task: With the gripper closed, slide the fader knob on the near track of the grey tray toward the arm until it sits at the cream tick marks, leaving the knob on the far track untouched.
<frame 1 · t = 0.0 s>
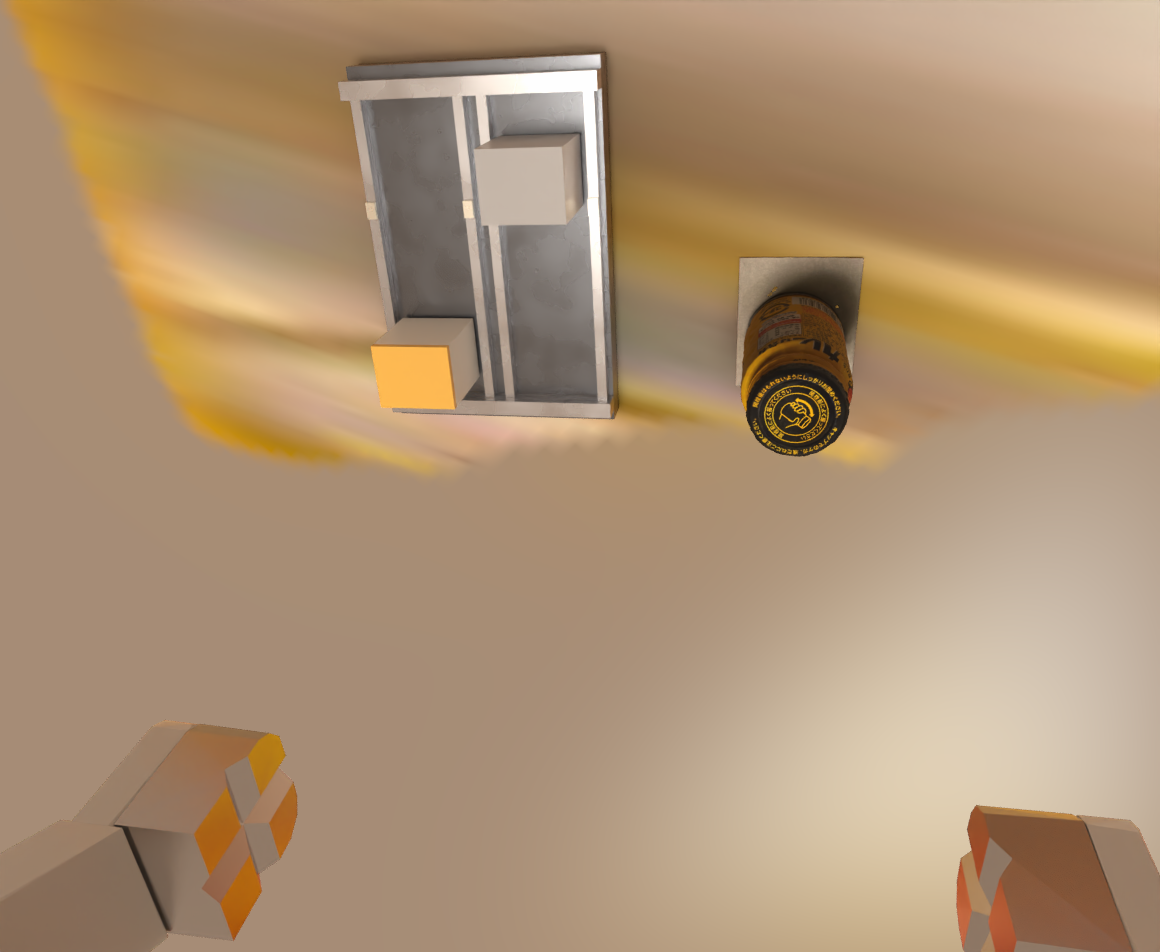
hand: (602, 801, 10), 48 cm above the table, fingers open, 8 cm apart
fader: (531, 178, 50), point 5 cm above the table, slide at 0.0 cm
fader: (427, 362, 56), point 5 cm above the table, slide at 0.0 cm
grey tray: (497, 246, 57), on the table
condiment: (796, 322, 56), on the table
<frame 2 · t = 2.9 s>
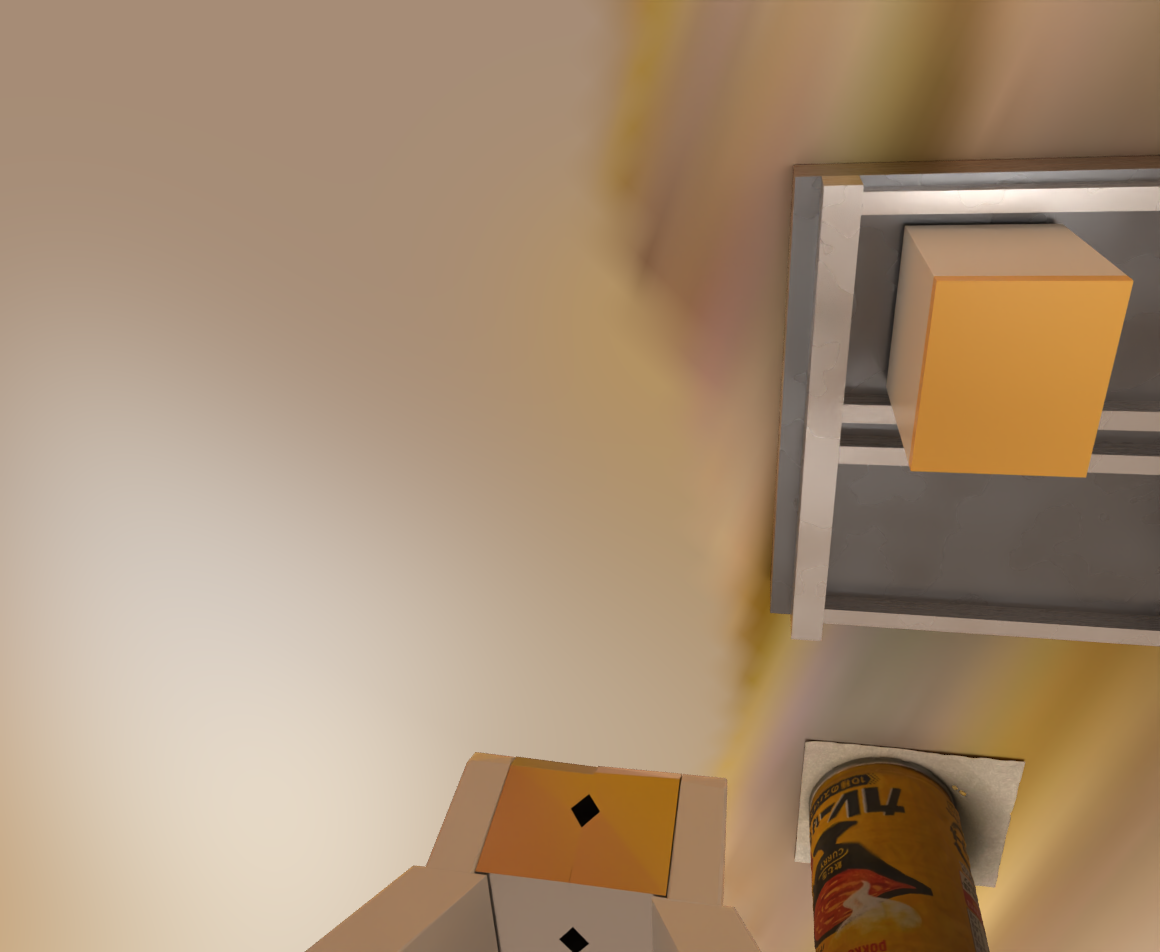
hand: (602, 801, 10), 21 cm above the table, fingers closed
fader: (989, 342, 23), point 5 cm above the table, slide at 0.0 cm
grey tray: (1139, 405, 28), on the table
condiment: (901, 807, 38), on the table
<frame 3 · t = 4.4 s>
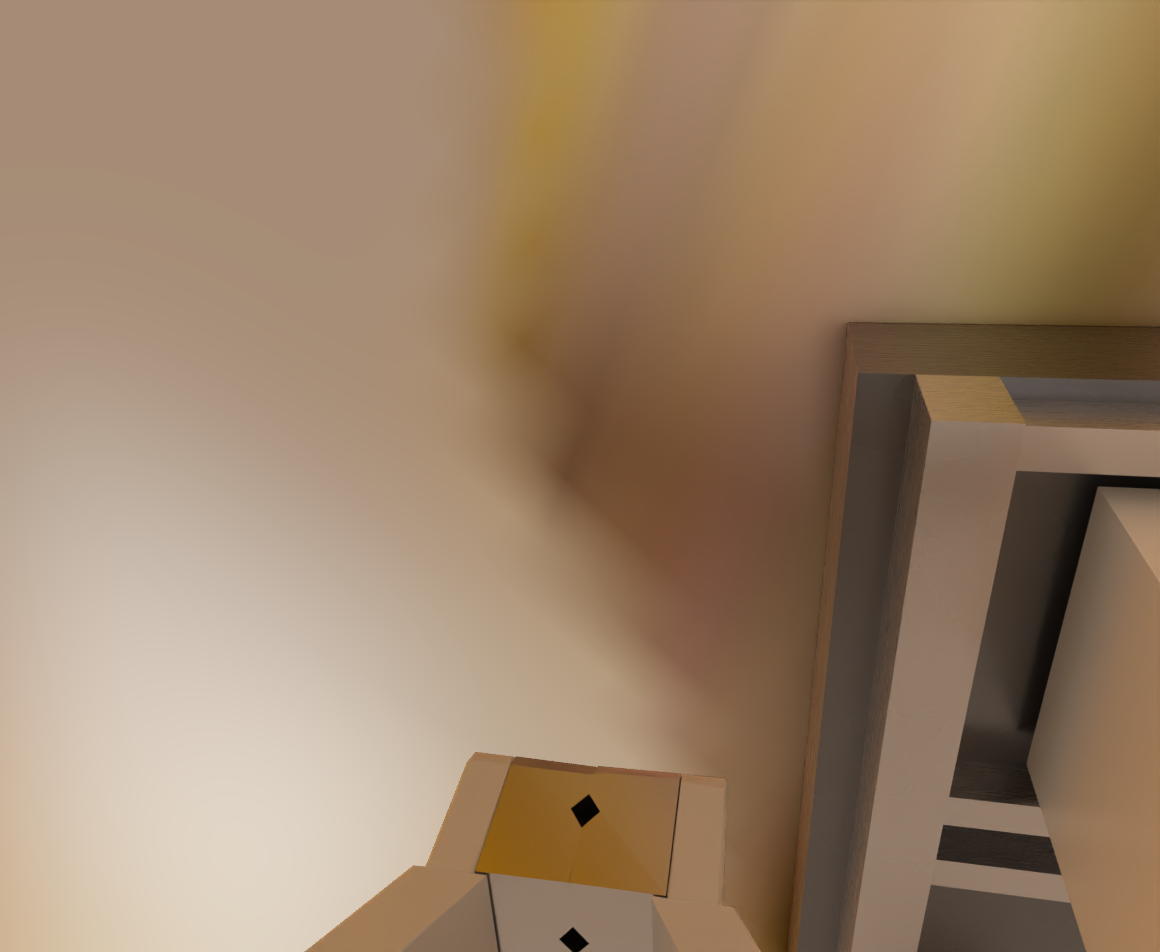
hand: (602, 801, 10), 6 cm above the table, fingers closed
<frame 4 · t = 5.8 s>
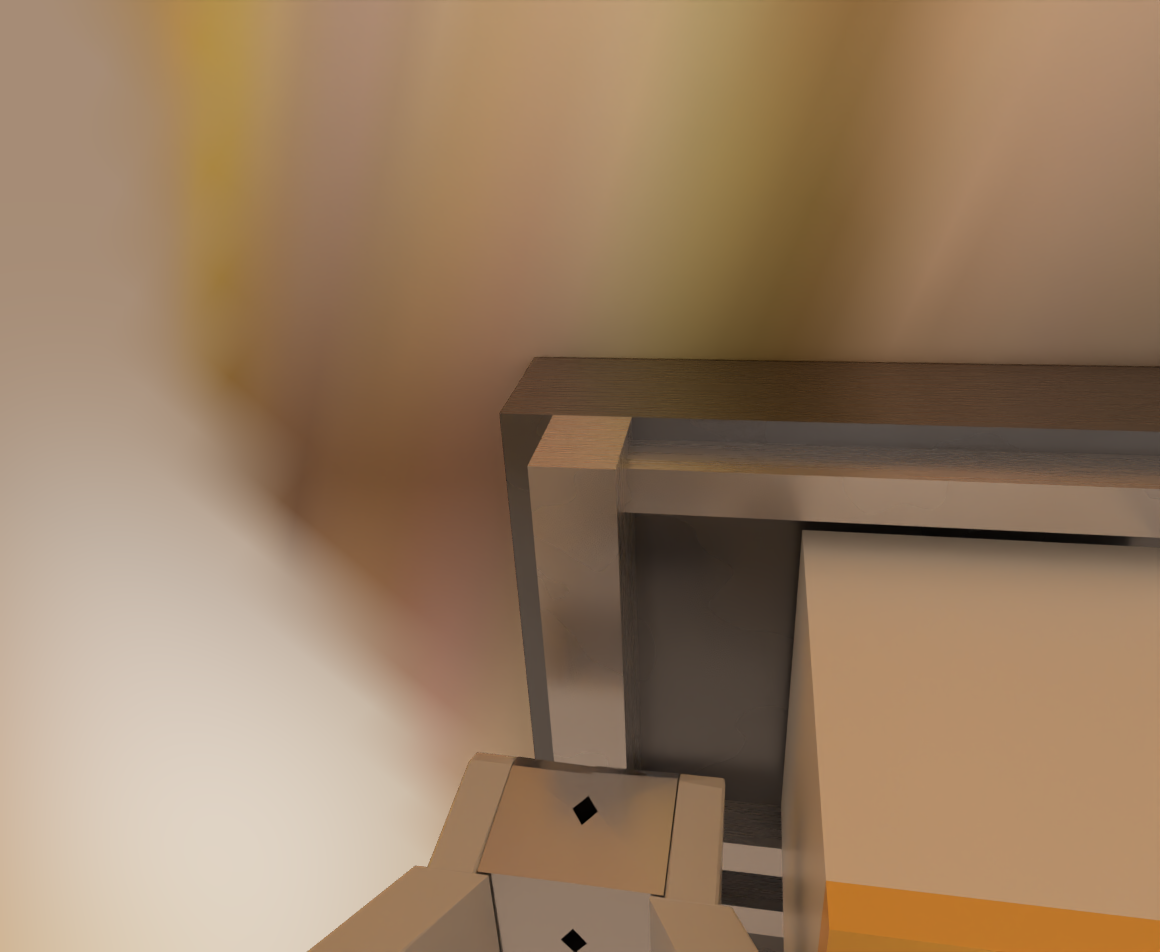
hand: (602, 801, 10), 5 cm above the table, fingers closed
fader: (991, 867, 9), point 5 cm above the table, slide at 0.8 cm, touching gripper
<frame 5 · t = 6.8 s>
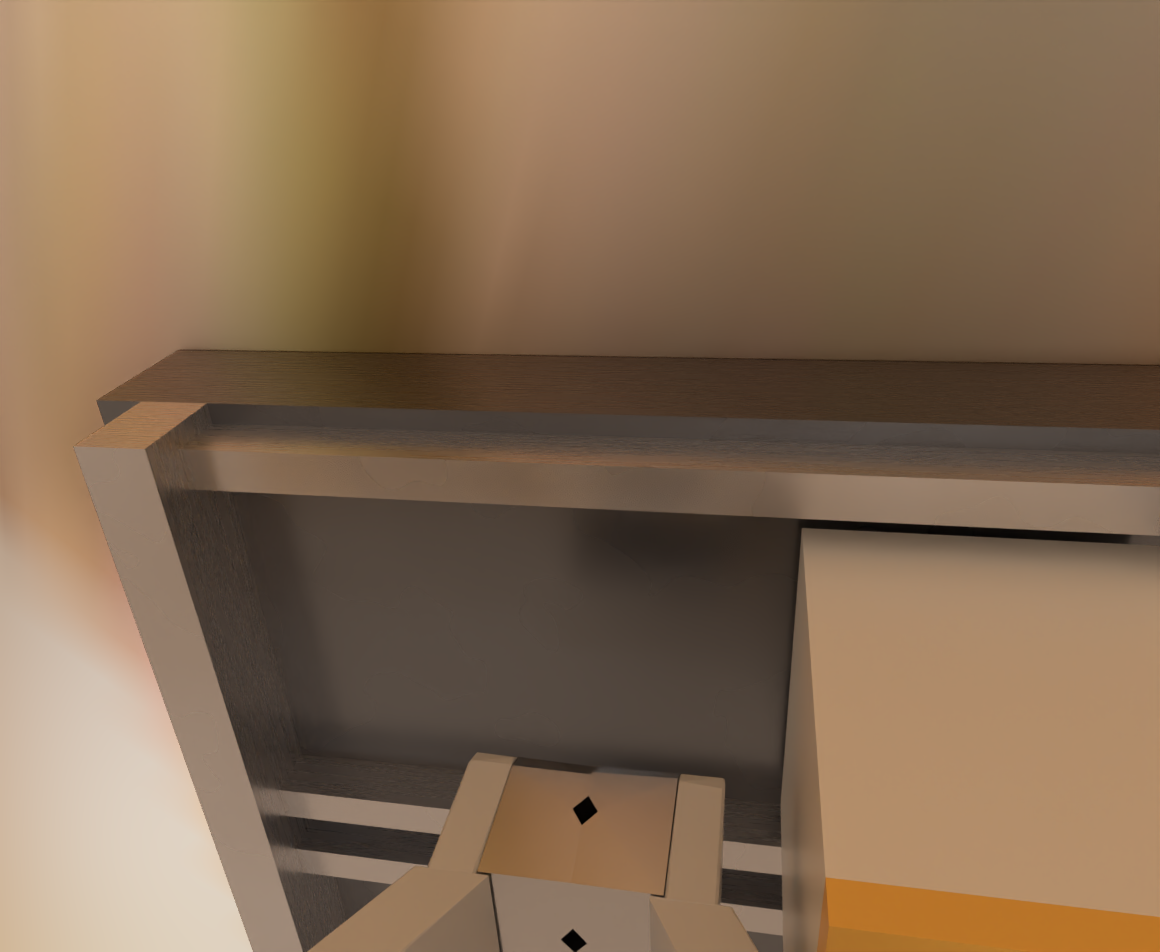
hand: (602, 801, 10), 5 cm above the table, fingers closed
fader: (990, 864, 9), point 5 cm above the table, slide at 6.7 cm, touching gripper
grey tray: (852, 762, 16), on the table
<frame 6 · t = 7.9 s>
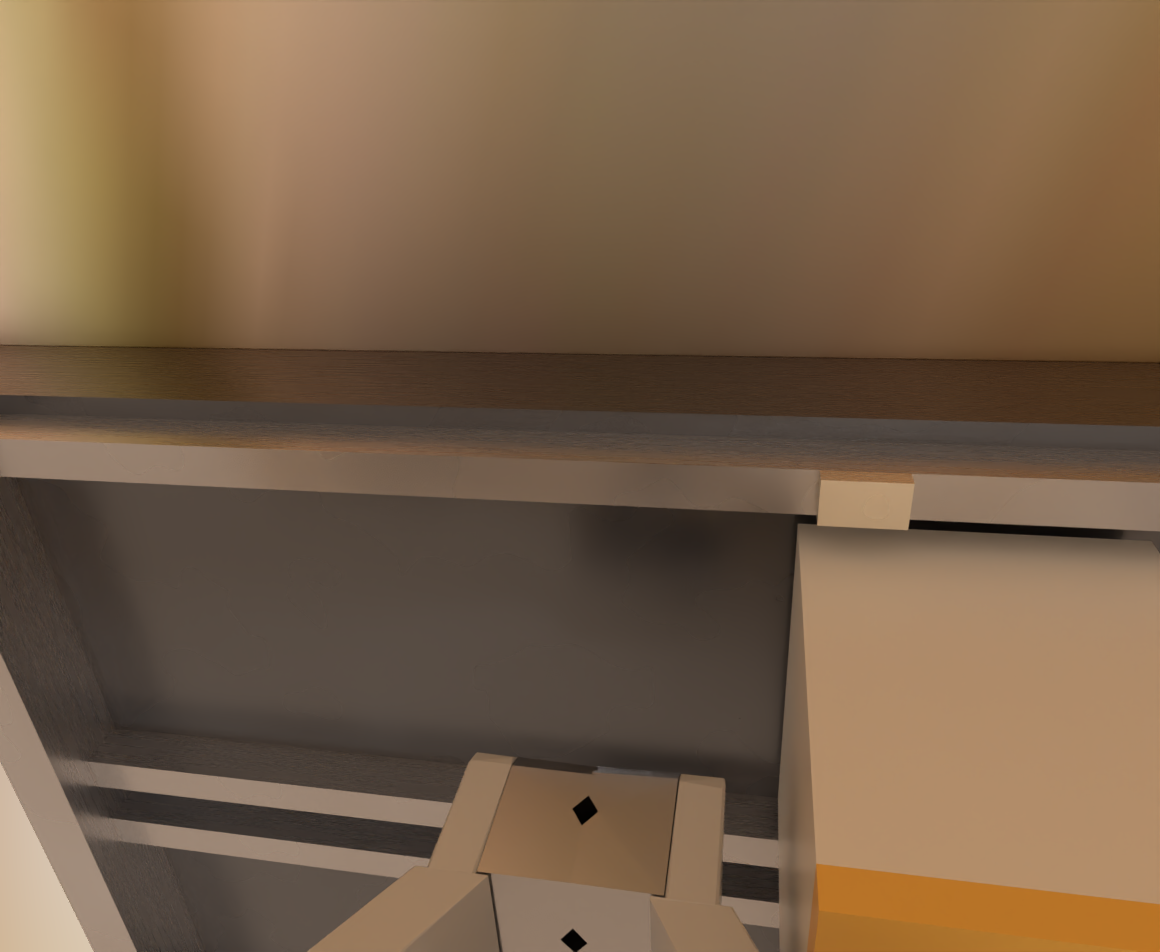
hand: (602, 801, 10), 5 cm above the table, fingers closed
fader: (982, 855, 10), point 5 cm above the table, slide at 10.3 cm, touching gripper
grey tray: (644, 738, 16), on the table
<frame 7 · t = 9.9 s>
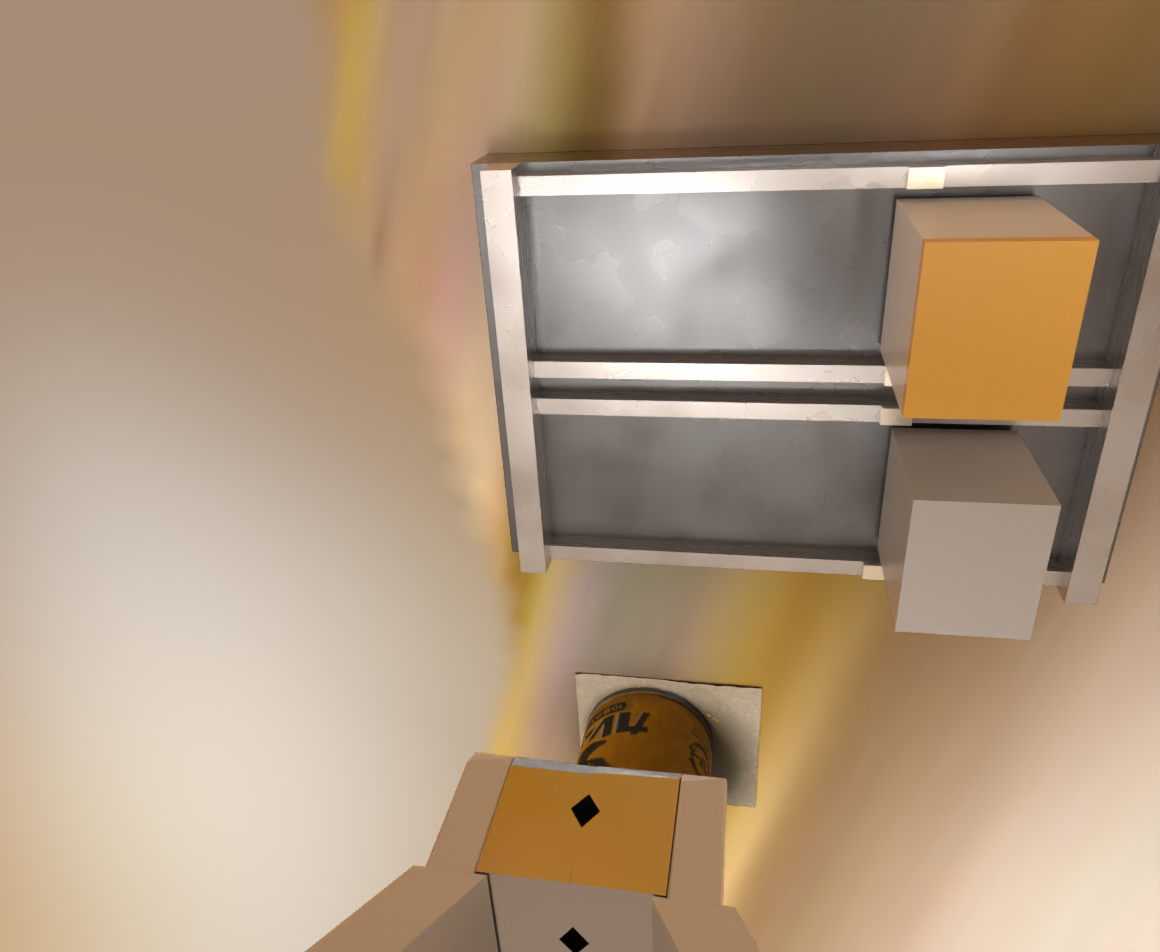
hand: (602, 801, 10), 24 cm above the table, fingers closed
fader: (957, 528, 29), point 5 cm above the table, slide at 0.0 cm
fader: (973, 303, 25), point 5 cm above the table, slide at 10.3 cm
grey tray: (801, 362, 32), on the table
condiment: (667, 735, 42), on the table
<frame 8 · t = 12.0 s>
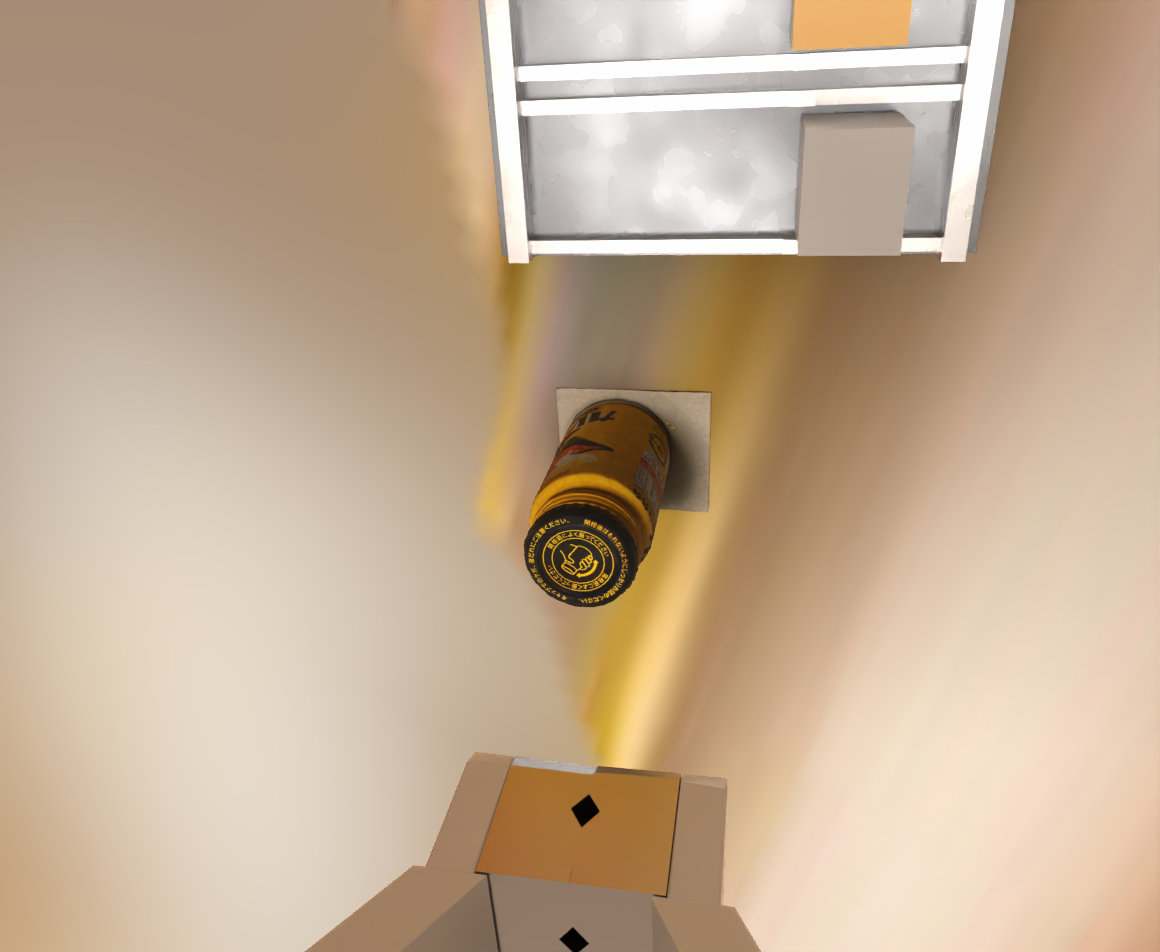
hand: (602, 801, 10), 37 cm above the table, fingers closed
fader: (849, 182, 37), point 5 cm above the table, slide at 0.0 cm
grey tray: (733, 77, 40), on the table
condiment: (634, 447, 50), on the table
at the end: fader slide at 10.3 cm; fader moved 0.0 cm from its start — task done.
